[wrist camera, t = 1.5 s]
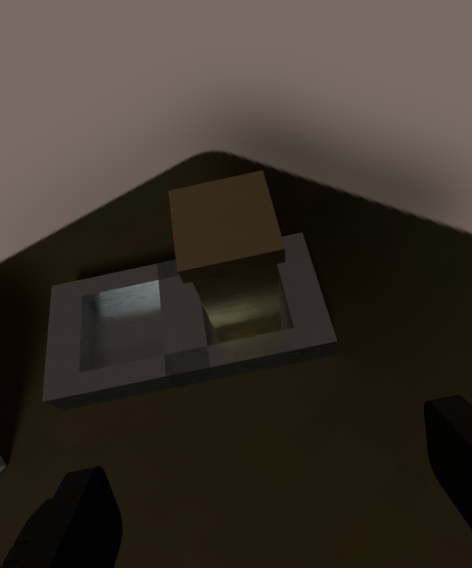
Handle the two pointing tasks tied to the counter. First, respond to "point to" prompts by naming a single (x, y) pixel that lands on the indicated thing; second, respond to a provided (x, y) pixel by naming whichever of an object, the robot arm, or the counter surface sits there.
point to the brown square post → (230, 252)
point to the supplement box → (2, 464)
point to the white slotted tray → (170, 333)
